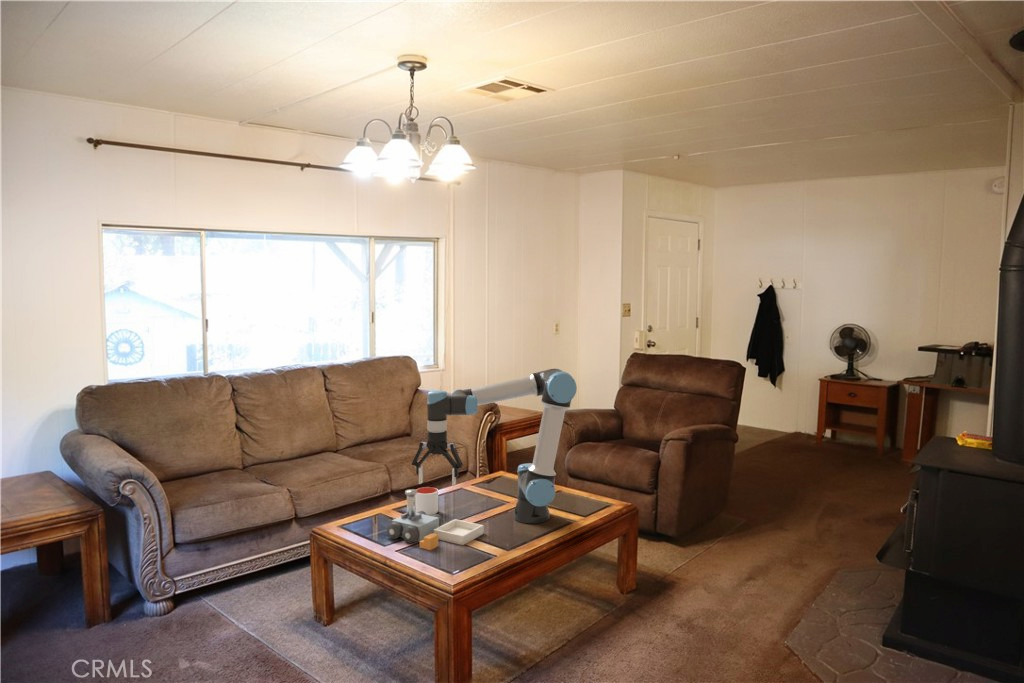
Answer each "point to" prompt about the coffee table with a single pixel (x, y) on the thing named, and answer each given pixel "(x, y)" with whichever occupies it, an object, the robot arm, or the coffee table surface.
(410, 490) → the pin
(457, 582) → the coffee table surface
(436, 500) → the cup
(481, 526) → the tray
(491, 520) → the coffee table surface
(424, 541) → the block
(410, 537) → the trolley
